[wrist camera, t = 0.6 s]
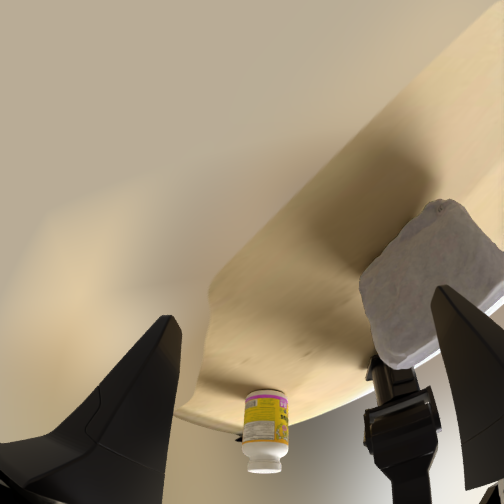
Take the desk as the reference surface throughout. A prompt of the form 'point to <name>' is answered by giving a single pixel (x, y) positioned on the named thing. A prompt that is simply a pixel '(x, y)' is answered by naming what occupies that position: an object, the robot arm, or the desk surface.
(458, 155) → the desk surface
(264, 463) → the supplement bottle
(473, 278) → the stone block
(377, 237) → the desk surface
